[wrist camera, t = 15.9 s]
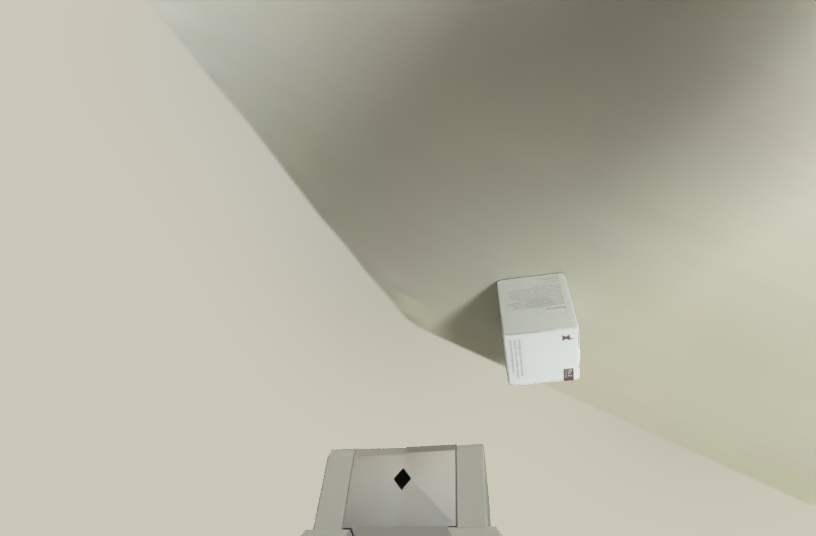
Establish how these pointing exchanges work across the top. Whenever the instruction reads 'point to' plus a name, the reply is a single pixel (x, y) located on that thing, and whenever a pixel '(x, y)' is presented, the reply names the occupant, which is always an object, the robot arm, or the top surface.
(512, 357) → the skincare box
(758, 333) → the top surface
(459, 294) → the top surface
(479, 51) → the top surface
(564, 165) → the top surface
